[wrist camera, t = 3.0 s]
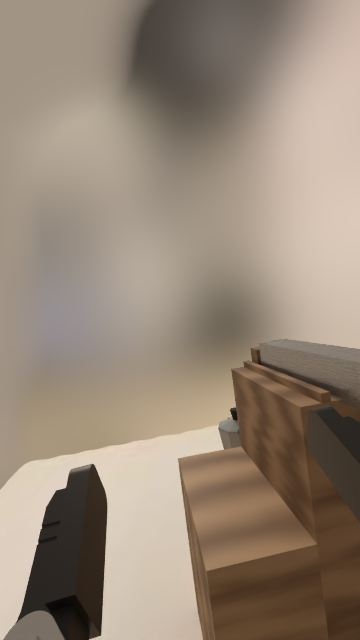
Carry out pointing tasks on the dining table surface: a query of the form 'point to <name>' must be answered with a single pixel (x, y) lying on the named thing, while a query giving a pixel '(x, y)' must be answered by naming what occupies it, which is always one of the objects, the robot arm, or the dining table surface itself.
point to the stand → (272, 522)
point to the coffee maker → (230, 431)
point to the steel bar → (317, 366)
